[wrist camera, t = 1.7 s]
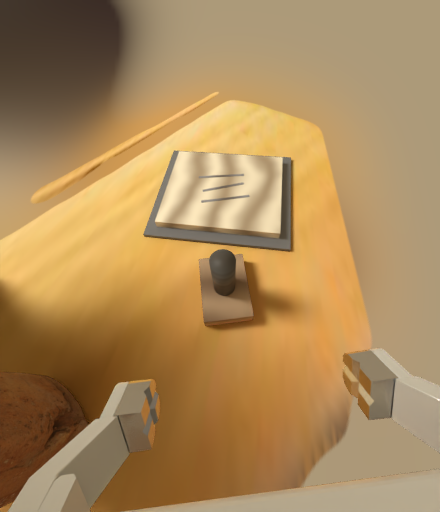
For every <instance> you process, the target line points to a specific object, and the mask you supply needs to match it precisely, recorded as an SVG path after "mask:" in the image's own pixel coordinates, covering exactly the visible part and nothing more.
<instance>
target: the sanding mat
mask: <svg viewBox="0 0 440 512" xmlns="http://www.w3.org/2000/svg"><path fill="white" fill-rule="evenodd" d="M184 152H188V151H184ZM178 153H179V151H174V152H173V155H172V157H171V160H170V163H169V166H168V168H167V171H166V174H165V177H164V179H163V182H162V185H161V188H160V190H159V193H158V196H157V199H156V201H155V204H154V207H153V210H152V212H151V215H150V218H149V221H148V223H147V226H146V229H145V232H144V234H143V235H144V236H146V237H155V238H165V239H175V240H184V241H194V242H204V243H214V244H223V245H233V246H243V247H252V248H262V249H272V250H282V251H290V250H291V158H289V157H283V162H282V195H281V229H280V236H279V238H269V237H259V236H249V235H238V234H228V233H218V232H207V231H197V230H187V229H177V228H166V227H157V225H156V223H155V219H156V216H157V214H158V211H159V208H160V205H161V202H162V199H163V196H164V193H165V190H166V188H167V185H168V182H169V179H170V176H171V173H172V170H173V167H174V165H175V162H176V159H177V156H178ZM201 153H205V152H201ZM218 154H222V153H218ZM235 155H238V154H235ZM251 156H255V155H251ZM268 157H272V156H268Z"/></svg>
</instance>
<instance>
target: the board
mask: <svg viewBox="0 0 440 512" xmlns="http://www.w3.org/2000/svg"><path fill="white" fill-rule="evenodd" d="M282 162H283V157H268V156H251V155H235V154H218V153H201V152H184V151H179V153H178V156H177V159H176V162H175V165H174V167H173V170H172V173H171V176H170V179H169V182H168V185H167V188H166V190H165V193H164V196H163V199H162V202H161V205H160V208H159V211H158V214H157V216H156V219H155V223H156V225H157V227H166V228H177V229H187V230H197V231H207V232H218V233H228V234H238V235H249V236H259V237H269V238H279V236H280V229H281V195H282Z"/></svg>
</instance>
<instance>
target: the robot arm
mask: <svg viewBox="0 0 440 512" xmlns="http://www.w3.org/2000/svg"><path fill="white" fill-rule="evenodd" d="M343 362H344V363H345V365H346V366H345V368H344V369H343V379H344V383H345V385H346V387H347V389H348V391H349V392H350V394H351V395H353V396H354V397H356V398H358V405H359V407H360V408H361V410H362V411H363V413H364V414H365V415H366V417H367V418H368V420H375V419H384V418H392V420H394V421H395V422H396V423H398V424H399V425H401V426H402V427H403V428H405V429H406V430H408V431H409V432H411V433H412V434H413V435H415V436H416V437H418V438H419V439H420V440H422V441H423V442H425V443H426V444H427V445H429V446H430V447H432V448H433V449H434V450H436V451H437V452H439V453H440V386H439V385H436V384H434V383H432V382H430V381H427V380H425V379H423V378H420V377H418V376H414V377H413V376H412V375H411V374H410V373H409V372H408V371H406V370H405V369H404V368H403V367H402V366H401V365H400V364H399V363H398V362H397V361H396V360H394V359H393V358H392V357H391V356H390V355H389V354H388V353H387V352H386V351H385V350H383V349H381V348H377V349H369V350H364V351H357V352H350V353H344V355H343ZM155 390H156V383H155V380H154V379H147V380H137V381H130V382H121V383H118V384H117V385H116V386H115V388H114V390H113V392H112V394H111V396H110V398H109V400H108V402H107V404H106V406H105V408H104V410H103V412H102V414H101V416H100V418H99V419H95V420H94V421H93V422H92V423H91V424H89V425H88V426H87V427H86V428H85V429H84V430H83V431H82V432H80V433H79V434H78V435H77V436H76V437H75V438H74V439H73V440H71V441H70V442H69V443H68V444H67V445H66V446H65V447H64V448H62V449H61V450H60V451H59V452H58V453H57V454H56V455H55V456H53V457H52V458H51V459H50V460H49V461H48V462H47V463H46V464H44V465H43V466H42V467H41V468H40V469H39V470H38V471H37V472H35V473H34V474H33V475H32V476H31V477H30V478H29V479H28V481H27V482H26V484H25V485H24V487H23V488H22V490H21V492H20V493H19V495H18V496H17V498H16V499H15V501H14V503H13V504H12V506H11V507H10V509H9V510H8V512H91V511H90V508H91V507H92V505H93V504H94V502H95V501H96V500H97V498H98V497H99V496H100V494H101V493H102V491H103V490H104V489H105V487H106V486H107V485H108V483H109V482H110V480H111V479H112V478H113V476H114V475H115V474H116V472H117V471H118V469H119V468H120V467H121V465H122V464H123V462H124V461H125V460H126V458H127V457H128V456H129V453H132V452H138V451H144V450H150V449H152V445H153V441H154V437H155V432H156V430H155V427H154V425H155V424H156V422H157V421H158V419H159V415H160V398H159V394H157V393H156V392H155ZM122 512H440V469H434V470H426V471H419V472H411V473H404V474H396V475H389V476H382V477H374V478H367V479H360V480H352V481H346V482H338V483H331V484H323V485H316V486H308V487H301V488H294V489H286V490H278V491H271V492H263V493H256V494H248V495H241V496H233V497H226V498H218V499H211V500H203V501H196V502H189V503H181V504H174V505H166V506H159V507H151V508H144V509H136V510H129V511H122Z"/></svg>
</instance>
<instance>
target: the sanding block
mask: <svg viewBox="0 0 440 512" xmlns="http://www.w3.org/2000/svg"><path fill="white" fill-rule="evenodd" d="M199 268H200V281H201V293H202V305H203V318H204V324H205V326H210V325H218V324H226V323H233V322H241V321H249V320H253V317H254V314H253V309H252V303H251V298H250V293H249V287H248V282H247V277H246V271H245V266H244V261H243V255H242V254H237V255H234V254H233V253H232V252H230V251H228V250H224V249H222V250H217V251H215V252H214V253H213V254H212V255H211V256H210V258H205V259H199Z"/></svg>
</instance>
